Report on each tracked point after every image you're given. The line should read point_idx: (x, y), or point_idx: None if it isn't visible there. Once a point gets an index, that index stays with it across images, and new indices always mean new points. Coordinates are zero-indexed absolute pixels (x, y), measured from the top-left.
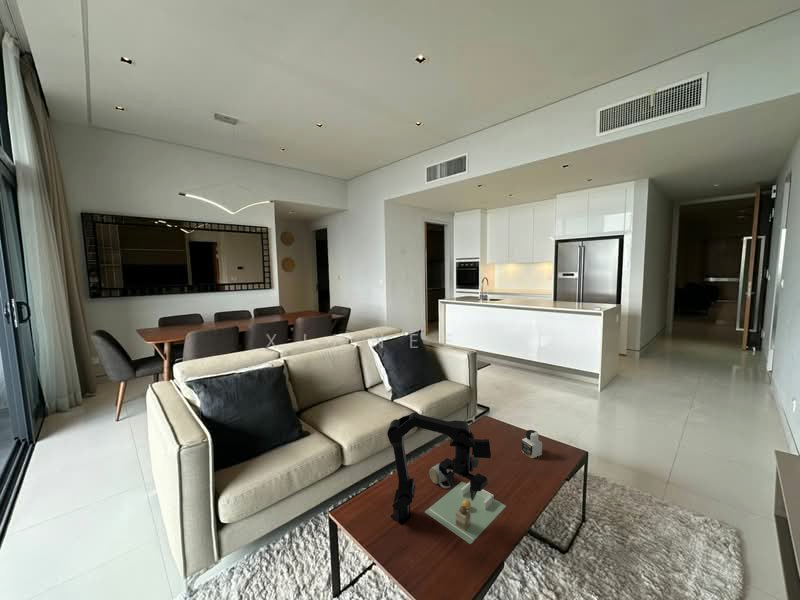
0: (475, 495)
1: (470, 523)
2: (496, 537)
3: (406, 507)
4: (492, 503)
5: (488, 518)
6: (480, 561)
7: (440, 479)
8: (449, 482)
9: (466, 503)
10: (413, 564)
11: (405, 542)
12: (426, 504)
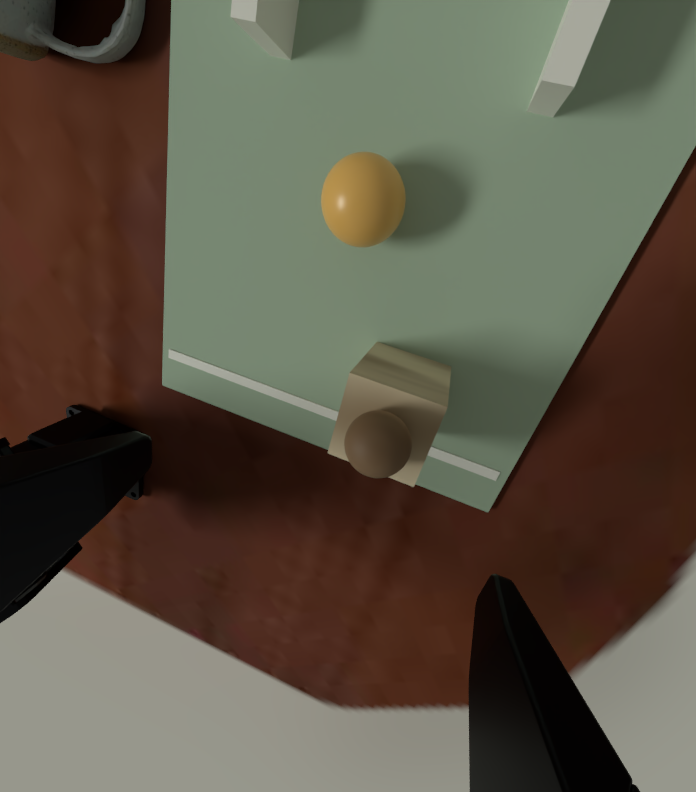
0: (559, 669)
1: (450, 370)
2: (680, 393)
3: (64, 565)
4: None
5: (599, 225)
6: (565, 582)
7: (9, 14)
8: (10, 601)
9: (365, 230)
10: (285, 633)
11: (207, 561)
12: (135, 313)
